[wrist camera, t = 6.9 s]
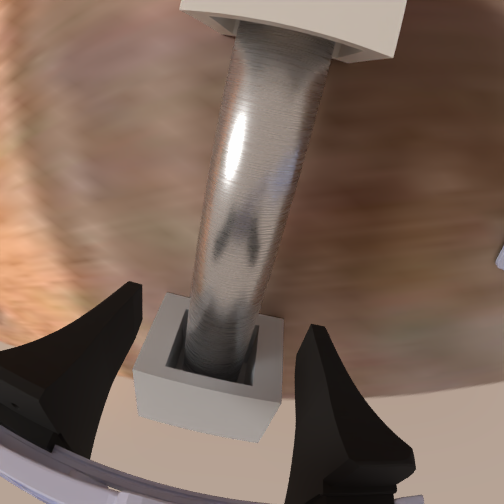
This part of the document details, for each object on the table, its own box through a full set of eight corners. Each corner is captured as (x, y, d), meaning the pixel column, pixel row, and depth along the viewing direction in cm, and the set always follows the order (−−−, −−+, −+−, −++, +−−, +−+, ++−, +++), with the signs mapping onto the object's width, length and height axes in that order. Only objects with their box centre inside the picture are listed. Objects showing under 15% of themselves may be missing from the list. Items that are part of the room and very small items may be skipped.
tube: (342, -9, 10) (360, -31, 7) (240, 357, 21) (234, 400, 18) (259, -28, 10) (252, -56, 7) (189, 346, 21) (176, 387, 18)
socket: (283, 318, 21) (281, 403, 16) (264, 367, 24) (258, 442, 19) (166, 292, 21) (132, 369, 15) (164, 345, 24) (138, 415, 18)
